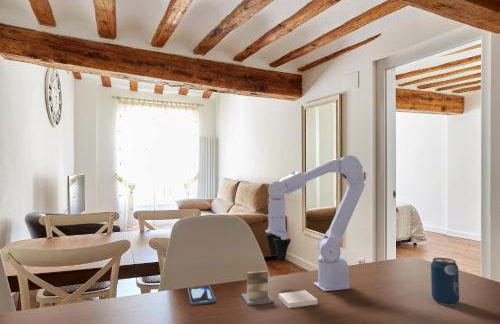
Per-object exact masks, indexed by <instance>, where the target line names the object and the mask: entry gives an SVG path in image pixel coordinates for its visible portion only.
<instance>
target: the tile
mask: <svg viewBox="0 0 500 324" xmlns="http://www.w3.org/2000/svg"><path fill="white" fill-rule="evenodd" d="M277 296H278V297H277V298H278V299H279V300H280V301H281V302H282V303H283V304H284V305H285V306H286V307H287V308H288V309H291V308H299V307H306V306H316V305H318V304H319V303H318V298H316V296H314V295H312V294H311V293H309V292H308V291H307V290H298V291H297V290H296V291H289V292H280V293H278V294H277Z"/></svg>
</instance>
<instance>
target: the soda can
mask: <svg viewBox="0 0 500 324" xmlns="http://www.w3.org/2000/svg"><path fill="white" fill-rule="evenodd" d="M456 261H457V260H455V259H451V258H446V257H434V258H432V262H431V263H430V275H431V276H430V277H431V280H430V283H431V284H430V285H431V297H432V299H433V300H434V301H435V303H437V304H439V305H444V306H456V305H458V303H459V302H460V283H459V282H460V281H459V280H460V279H459V266H458V264H457V263H456Z"/></svg>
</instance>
